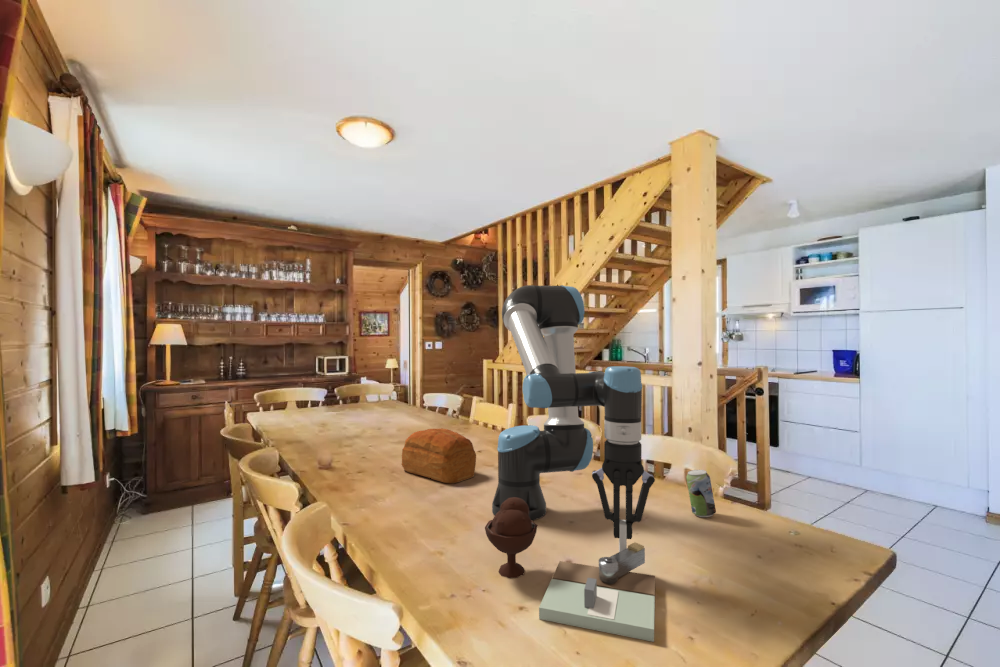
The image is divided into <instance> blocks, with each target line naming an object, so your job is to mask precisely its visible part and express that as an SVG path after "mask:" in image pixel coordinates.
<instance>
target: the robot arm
mask: <svg viewBox="0 0 1000 667" xmlns="http://www.w3.org/2000/svg"><path fill="white" fill-rule="evenodd" d="M501 319H502V322H503V324H504V327H505V328H506V329H507V330H508V331H509V332H510V333H511V335H512V336H511V337H512V338H513V341H514V344H515V347H516V349H517V352H518V355H519V357H520V359H521V362H522V365H523V368H524V371H525V373H526V376H525V377H524V378H523V382H522V394H523V395H522V396H523V402H524V404H525V405H526V406H527V407H528V408H533V409H534V408H536V409H537V408H540V409H547V412H548V418H547V419H546V421H544V423H543V430H540V428H539V427H538V426H537V425H534V424H532V425H531V424H530V425H525V424H524V425H515V426H512V427H508V428H506V429H504V430H502V431H501V432H500V433H499V435H498V440H497V448H496V449H497V466H498V467H497V468H498V469H497V470H498V471H497V475H498V477H497V478H498V479H497V480H498V482H497V487H496V490H495V494H494V496H493V500H492V505H491V511H492V515H493V516H495V515H496V513H498V512H499V511H500V506H501V504H502V503H503V502H504V501H505V500H507V499H508V498H512V497H517V498H521V499H523V500H524V501H525V502H526V503H527V505H528V506H529V517H530V519H531V520H532V521H536V520H539V519H541V518H543V517H545V515H547V503H546V499H545V496H544V493H543V489H542V486H541V483H540V478H541V477H540V475H541V474H544V473H545V474H546V473H547V474H549V473H559V472H560V473H562V472H574V471H582V470H584V469H586V468H587V467H589V465H590V464H591V461H592V458H593V454H594V438H593V437H592V435H593V434H592V432H591V431H590V430H589V429H588V428H586V427H585V422H584V421H583V420H582V419H581V418H580V417H579V407H592V406H593V407H595V406H596V407H597V406H599V407H604V416H603V417H604V423H603V424H604V426H603V427H604V435H603V436H604V439H605V441H604V450H603V451H604V453H603V454H604V455H603V456H604V457H603V458H604V460H603V463H602V464H601V467H600V468H599V469H597V470H595V469H594V470H592V473H591V476H592V477H591V478H592V480H593V481H594V483H595V484H596V486H597V490H598V494H599V498H600V503H601V507H602V510H603V515H604V518H605V519H606V520H608V521H611V522H612V523H613V524H612V525H613V532H612V533H613V538H614V539H618V552H620V551H622V550H624V549H626V548H628V545H627V544H628V542H627V540H632V538H633V525H634V523H640V522H642V519H643V516H644V512H645V509H646V508H645V507H646V503H647V500H648V497H649V491H650V489H651V487H652V486H653V485H654V483H655V482H656V479H655V476H654V474H652V473H649V472H647V471H646V470H645V467H644V465H643V463H642V445H643V444H642V443H641V442H640V441H641V440H642V402H643V401H642V399H643V398H642V397H643V396H642V395H643V393H642V392H643V391H642V390H643V383H642V372H641V370H640V369H639V368H638V367H635V366H624V365H623V366H621V365H619V366H608V367H606V368H605V370H604V371H589V372H576V357H575V355H576V354H575V340H574V334H576V332H577V331H578V330H579V325H581V324H582V323H583V321H584V319H585V303H584V300H583V297H582V294H581V293H580V291H579V290H578V289H577V288H576V287H574V286H568V285H567V286H566V285H563V284H561V285H533V284H530V285H529V284H528V285H523V286H519V288H516V289H514V290H513V291H512V292H511V293H510V294H508V295H507V297H506V299H505V300H504V302H503V304H502V308H501ZM605 475H606V477H607V479H608V480H609V481H610V483H611V484H612V486H613V490H612V492H613V496H612V498H613V501H612V502H613V506H612V507H613V508H612V509H613V511H611V508H610V506H609V501H608V497H607V492H606V488H605V485H604V478H605ZM640 478H641V481H642V485H641V488H640V491H639V495H638V499H637V504H636V506H635V510H634V513H633V492H634V491H633V489H634V487H633V486H634V485H636V484H637V482H638V480H639V479H640ZM623 486H624V487H625V519H621V514H620V513H621V509H620V508H621V503H620V502H621V497H620V496H621V495H620V494H621V493H620V492H621V487H623Z"/></svg>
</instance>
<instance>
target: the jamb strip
mask: <svg viewBox="0 0 1000 667" xmlns="http://www.w3.org/2000/svg"><path fill="white" fill-rule="evenodd" d="M587 578H593V579H597V587H603V588H609V589H615V590H621V591H627V592H633V593H639V594H645V595H651V596H655V597H656V575H653V574H652V575H651V574H647V573H646V574H645V573H639V572H633V571H630V572H628V573H626V574H624V575H622V576H621V577H619V578H618V581H617V582H614V583H607V582H603V581H601V580H600V579H599V566H594V565H588V564H582V563H576V562H575V563H574V562H568V561H563V560H559V562H558V563H557V566H556V568H555V571H554V573H553V575H552V578H551V579H556V580H562V581H568V582H574V583H580V584H586V582H587Z"/></svg>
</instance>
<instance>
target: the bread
mask: <svg viewBox="0 0 1000 667" xmlns="http://www.w3.org/2000/svg"><path fill="white" fill-rule="evenodd" d="M476 464H477V453H476V451H475V448H474V445H473V442H472V441H471V440H470V439H469V438H466V437H465V436H464V435H462V434H461V433H459V432H456V431H453V430H451V429H447V428H442V427H441V428H427V429H424V430H417V431H415V432H413V433H412V434H410V435H409V436H407V438H406V439H405V441H404V446H403V448H402V452H401V467H402V468H403V470H404V471H405V472H407V473H411V474H414V475H417V476H421V477H426V478H427V479H430V478H431V479H430V480H435V481H438V482H441V483H444V484H456V483H460V482H462V481H463V482H464V481H465V480H468V479H471V478H474V476H475V472H476Z"/></svg>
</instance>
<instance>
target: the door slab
mask: <svg viewBox="0 0 1000 667" xmlns="http://www.w3.org/2000/svg"><path fill="white" fill-rule="evenodd" d="M655 605H656V595H655V596H651V595H645V594H639V593H633V592H627V591H621V590H615V589H609V588H603V587H597V579H593V578H587V582H586V584H580V583H574V582H568V581H562V580H556V579H552V578H551V579H550V582H549V583H548V586H547V589H546V591H545V593H544V596H543V597H542V600H541V602H540V604H539V607H538V619H539V620H542V621H547V622H551V623H552V622H553V623H557V624H562V625H567V626H572V627H577V628H583V629H588V630H593V631H598V632H603V633H608V634H613V635H619V636H621V637H622V636H623V637H628V638H633V639H636V640H637V639H638V640H643V641H647V642H653V643H654V642H655V611H656V608H655V607H656V606H655Z"/></svg>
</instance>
